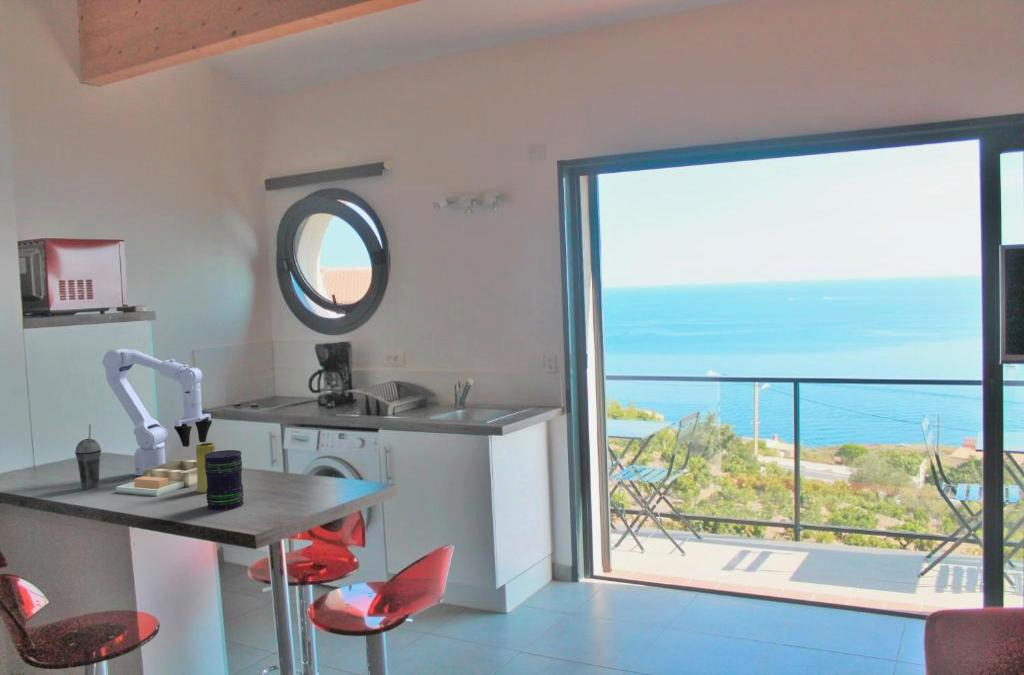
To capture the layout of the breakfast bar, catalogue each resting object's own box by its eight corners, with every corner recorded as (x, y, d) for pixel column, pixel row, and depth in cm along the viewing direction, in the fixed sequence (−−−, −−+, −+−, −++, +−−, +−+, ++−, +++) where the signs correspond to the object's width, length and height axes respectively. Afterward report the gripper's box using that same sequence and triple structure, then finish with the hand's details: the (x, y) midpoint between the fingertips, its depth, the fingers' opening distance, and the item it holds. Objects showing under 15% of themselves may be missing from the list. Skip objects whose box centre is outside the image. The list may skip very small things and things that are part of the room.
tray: (116, 492, 243) (116, 486, 243) (144, 484, 253) (144, 478, 253) (156, 496, 237) (156, 490, 237) (184, 487, 247) (183, 481, 247)
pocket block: (143, 483, 254) (142, 469, 254) (180, 472, 269) (180, 459, 268) (189, 487, 247) (188, 472, 247) (224, 475, 262) (224, 461, 262)
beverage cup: (72, 489, 248) (68, 426, 247) (93, 484, 255) (90, 422, 254) (86, 491, 245) (82, 427, 244) (108, 486, 251) (104, 423, 250)
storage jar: (201, 506, 224) (198, 454, 223) (234, 499, 231) (231, 448, 230) (216, 513, 217) (213, 458, 216) (250, 505, 223) (247, 453, 223)
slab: (134, 488, 245) (134, 478, 245) (143, 485, 248) (143, 476, 248) (159, 490, 241) (159, 480, 241) (168, 487, 245) (168, 478, 244)
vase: (210, 493, 239) (208, 446, 238) (192, 492, 240) (190, 446, 239) (222, 488, 244) (219, 442, 244) (204, 487, 246) (202, 442, 245)
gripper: (185, 407, 257) (187, 448, 258) (217, 401, 270) (219, 440, 271) (168, 406, 259) (170, 448, 260) (200, 400, 273) (202, 439, 274)
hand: (194, 444), depth 266 cm, fingers open, 7 cm apart
